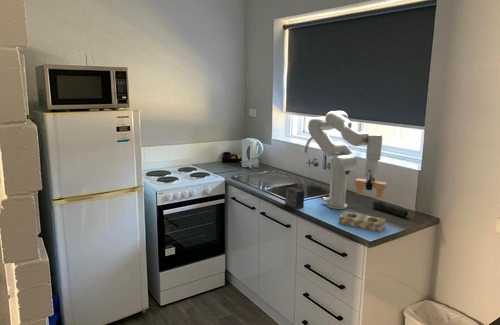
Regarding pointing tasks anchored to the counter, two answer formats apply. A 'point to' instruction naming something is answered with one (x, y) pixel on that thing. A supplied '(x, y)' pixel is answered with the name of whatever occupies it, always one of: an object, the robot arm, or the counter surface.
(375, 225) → the slotted tan block
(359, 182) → the tan wedge board
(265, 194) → the counter surface
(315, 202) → the counter surface
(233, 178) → the counter surface
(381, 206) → the flashlight
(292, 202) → the small box
